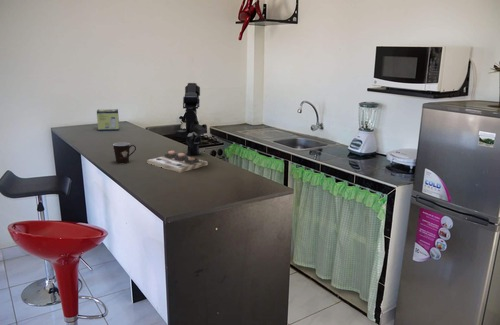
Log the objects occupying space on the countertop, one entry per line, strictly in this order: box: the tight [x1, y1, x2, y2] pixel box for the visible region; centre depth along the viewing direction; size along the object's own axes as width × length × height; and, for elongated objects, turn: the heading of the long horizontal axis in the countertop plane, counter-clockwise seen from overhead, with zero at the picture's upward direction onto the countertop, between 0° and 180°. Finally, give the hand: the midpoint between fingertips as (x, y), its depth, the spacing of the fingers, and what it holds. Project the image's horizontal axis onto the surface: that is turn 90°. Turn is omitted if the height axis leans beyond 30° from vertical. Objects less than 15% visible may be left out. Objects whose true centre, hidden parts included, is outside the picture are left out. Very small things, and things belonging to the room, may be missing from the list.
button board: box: [146, 152, 209, 174], centre depth 206 cm, size 20×26×4 cm
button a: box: [167, 150, 176, 155], centre depth 213 cm, size 4×4×2 cm
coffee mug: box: [112, 142, 137, 164], centre depth 207 cm, size 12×9×10 cm
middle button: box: [177, 152, 186, 158], centre depth 208 cm, size 4×4×2 cm
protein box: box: [96, 109, 120, 132], centre depth 297 cm, size 10×16×16 cm
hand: (191, 148), depth 202 cm, fingers closed
